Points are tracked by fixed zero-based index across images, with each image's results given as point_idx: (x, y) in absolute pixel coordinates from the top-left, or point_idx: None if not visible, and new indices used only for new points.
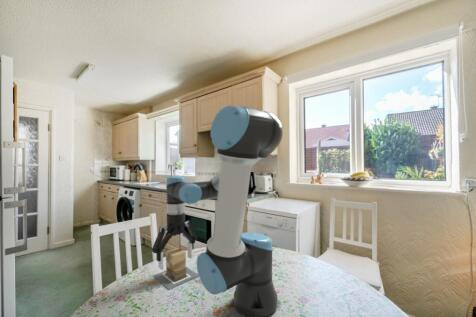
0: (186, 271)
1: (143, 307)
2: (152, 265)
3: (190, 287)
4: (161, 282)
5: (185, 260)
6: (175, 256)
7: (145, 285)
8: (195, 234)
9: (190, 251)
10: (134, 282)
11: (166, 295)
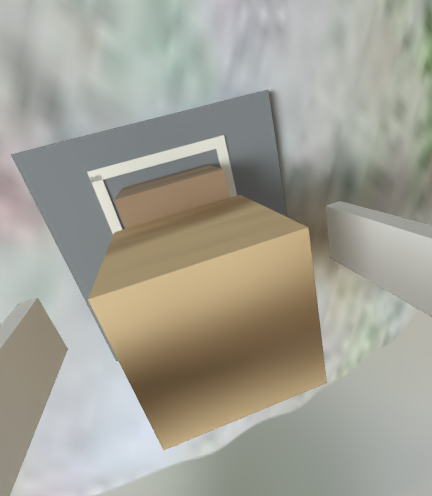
0: None
1: (415, 3)
2: None
3: (118, 37)
4: (282, 198)
5: (110, 249)
6: (258, 234)
7: None
8: None
9: (5, 358)
10: None
11: (287, 45)
